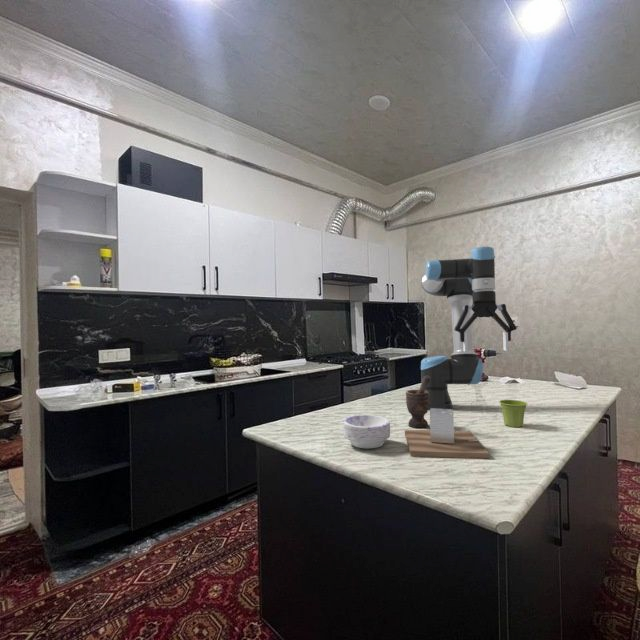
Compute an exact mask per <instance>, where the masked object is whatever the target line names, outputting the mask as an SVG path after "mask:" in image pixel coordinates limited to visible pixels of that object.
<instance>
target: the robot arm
mask: <svg viewBox="0 0 640 640" xmlns="http://www.w3.org/2000/svg"><path fill="white" fill-rule="evenodd" d="M470 251H471V253H470V257H469V258H458V259H457V258H456V259H455V258H453V259H434V260H428V261H426V263H425V264H426V266H425V274H424V275H423V277H422V280H421V288H422V289H423V290H424V291H425V292H426V293H427V294H429V295H431V296H435V297H446V301H448V302H449V303H450V311H451V327H452V328H451V330H452V342H453V352H452V353H451V354H450V358H448V357H447V356H446V355H435V356H429V357H424V358H423V359H422V360H421V361H420V370H421V371H420V372H421V373H420V376H421V377H420V378H421V380H420V383H422V380H423V378H424V376H426V375H428V376H430V377H431V381H430V383H429V385H428V387H427V388H426V391H428V392H429V408H428V411H430V409H431V408H436V409H452V408H453V401H452V398H451V396H450V393H449V391H448V385H468V386H470V385H478V384H479V383H480V382H481V380H482V376H483V372H484V371H483V368H484V366H483V365H484V363H483V360H482V359H481V358H479V356H478V353H476V352H475V351H474V339H473V326H472V324H473V323H474V321H475V320H477V318H492V319H494V321H495V322H496V323H497V324H498V325H499V326H500V327H501V328H502V329H503V330H504V331H502V340H503V341H502V343H503V344H502V345H503V347H502V348H503V351H505V352H509V342H511V340H512V332H513V331H516V330H517V329H518V328H517V326H516V324H515V323H514V321H513V319H512V317H511V316H510V314H509V312H508V311H507V305H506V304H505V303H500V304H497V303H496V302H497V299H496V291H495V290H496V276H495V275H496V271H495V269H496V267H495V265H496V264H495V258H496V256H495V250H494V248H493V247H492V246H478V247H474V248H472V250H470ZM471 301H472V305H471ZM497 309H498V311H500V313H501V315H502V316H503V318H504V320H505V321H506V322H504V320H502V318H501V317H500V316H499V315H498V314H497V312H496V311H497ZM471 310H472V312H473V314H472V313H471ZM471 314H472V315H471Z"/></svg>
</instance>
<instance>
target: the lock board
mask: <svg viewBox="0 0 640 640" xmlns="http://www.w3.org/2000/svg"><path fill="white" fill-rule="evenodd" d="M404 435H405V436H404V437H405V440H406V444H407V448H408V451H409V456H410V457H423V458H424V457H425V458H427V457H428V458H456V459H457V458H459V459H487V460H488V459H490V453H489V451H488V450H487V448H485V446H483V444H481V442H480V440H479V439H477V437H476V436H475V435H474V434H473V432H471V431H470V430H454V444H452V443H439V442H431V439H430V430H428V429H427V430H426V429H422V430H421V429H420V430H419V429H404Z"/></svg>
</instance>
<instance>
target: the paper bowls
mask: <svg viewBox="0 0 640 640" xmlns="http://www.w3.org/2000/svg"><path fill="white" fill-rule="evenodd" d="M342 425H343V426H342V428H343V437H344V438H345V439H347V440H349V442H350V444H351V445H352V446H354V447H355V448H358V449H366V450H369V449H376V448H379V447H381V446H382V445H383V444H384V442H385V441H386V440H388V439H389V438H390V437H391V421H390V420H389V419H388V418H386V417H384V416H379V415H372V414H358V415H357V414H356V415H350V416H347V417H345V418H344V419H343V421H342Z"/></svg>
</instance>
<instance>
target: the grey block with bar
mask: <svg viewBox="0 0 640 640" xmlns="http://www.w3.org/2000/svg"><path fill="white" fill-rule="evenodd" d="M454 419H455V418H454V409H452V408H451V409H436V408H431V409H430V410H429V429H430V439H431V442H439V443H452V444H454V431H455V429H454V428H455V423H454V422H455V421H454Z"/></svg>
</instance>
